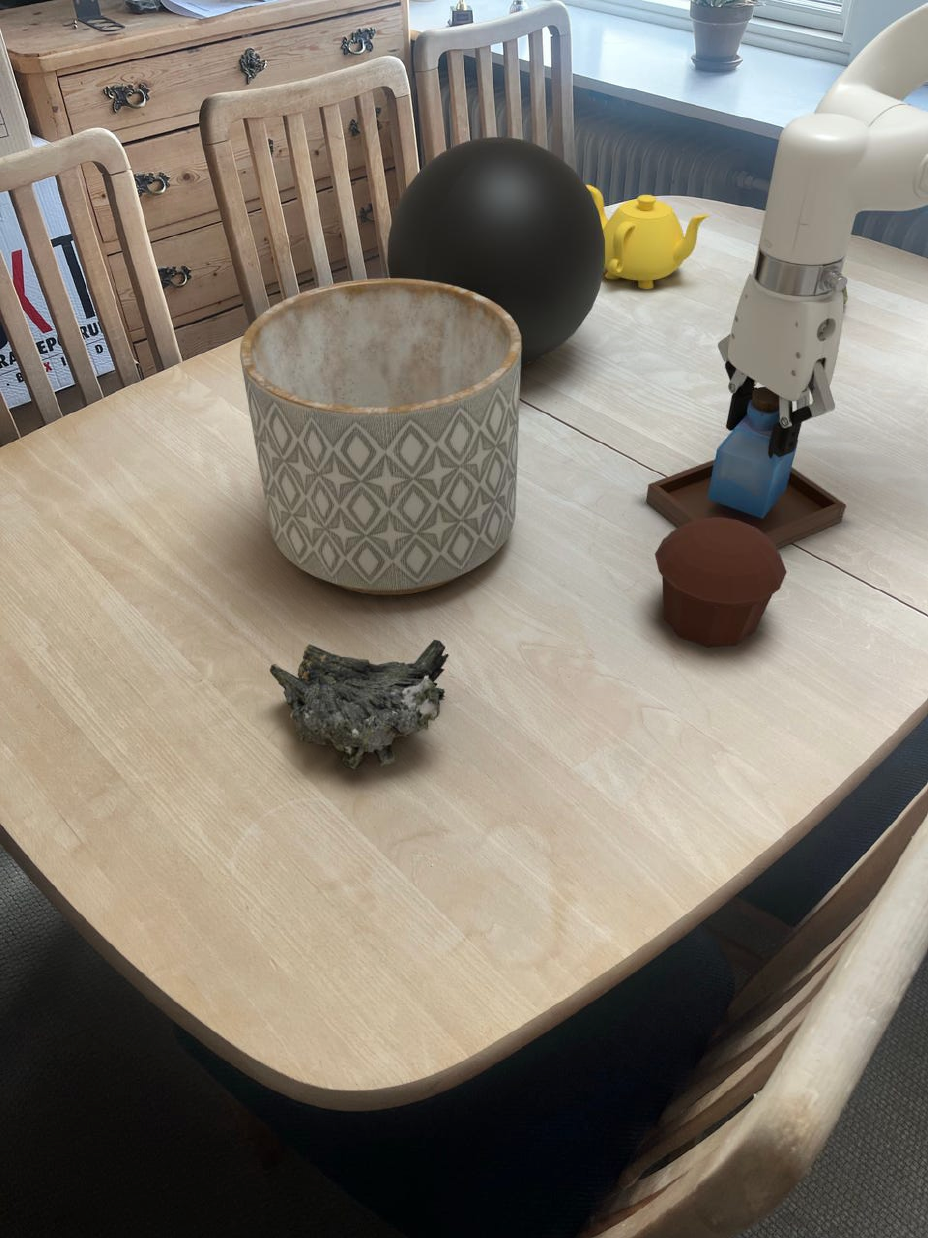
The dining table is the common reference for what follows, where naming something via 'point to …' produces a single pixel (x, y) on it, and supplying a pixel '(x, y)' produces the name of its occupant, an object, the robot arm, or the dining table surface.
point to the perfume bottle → (751, 460)
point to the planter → (386, 430)
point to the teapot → (644, 239)
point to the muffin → (717, 579)
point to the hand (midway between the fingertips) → (759, 438)
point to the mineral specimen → (362, 700)
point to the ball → (505, 235)
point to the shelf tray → (783, 524)
